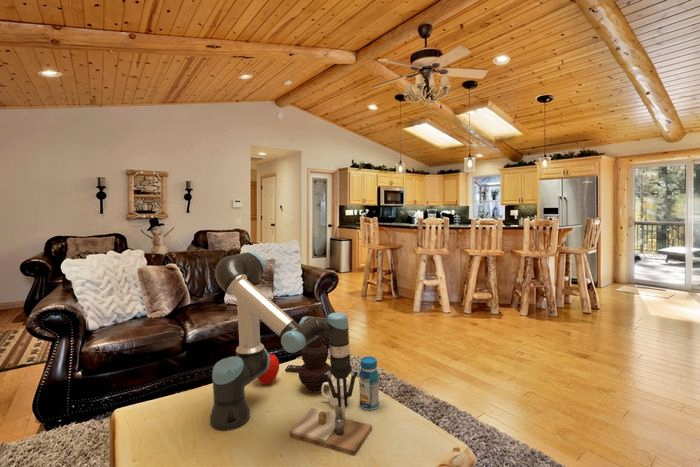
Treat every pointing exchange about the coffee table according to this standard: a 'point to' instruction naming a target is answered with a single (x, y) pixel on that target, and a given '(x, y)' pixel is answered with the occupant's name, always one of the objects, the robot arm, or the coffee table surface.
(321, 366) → the vase
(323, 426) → the door board
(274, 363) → the apple
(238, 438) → the coffee table surface
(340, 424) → the bar
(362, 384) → the beverage bottle
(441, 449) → the coffee table surface
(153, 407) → the coffee table surface
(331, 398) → the cup
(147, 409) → the coffee table surface
